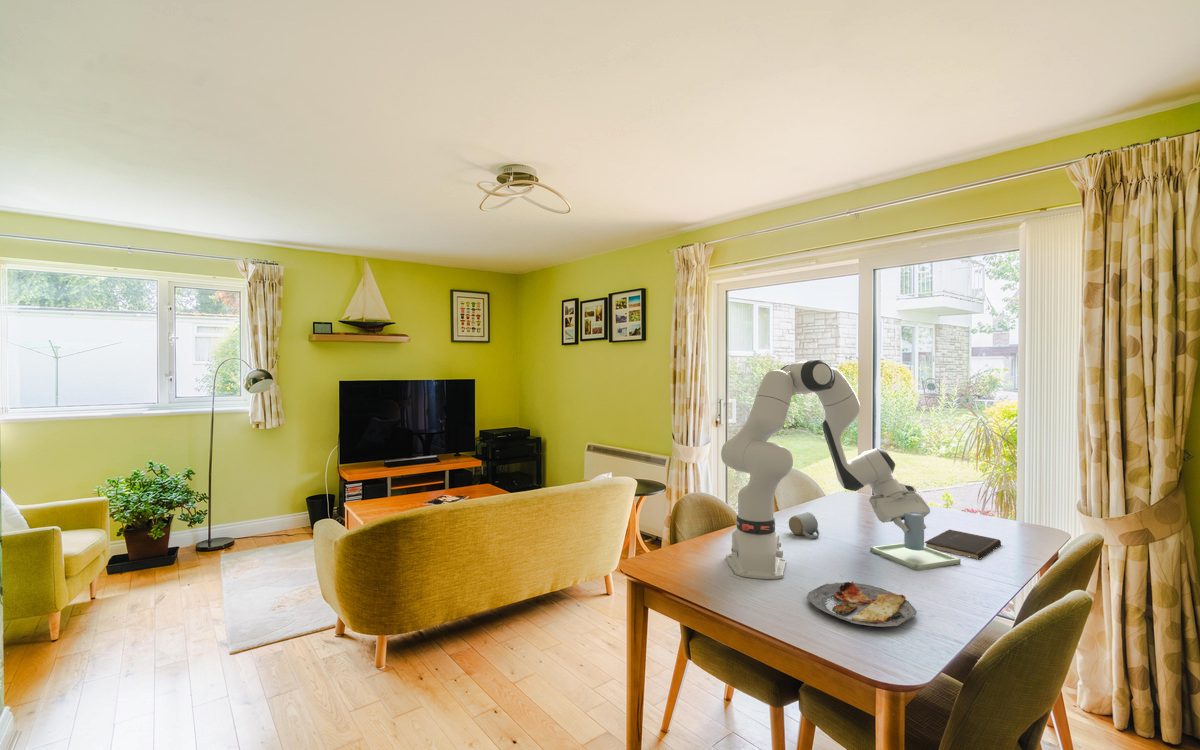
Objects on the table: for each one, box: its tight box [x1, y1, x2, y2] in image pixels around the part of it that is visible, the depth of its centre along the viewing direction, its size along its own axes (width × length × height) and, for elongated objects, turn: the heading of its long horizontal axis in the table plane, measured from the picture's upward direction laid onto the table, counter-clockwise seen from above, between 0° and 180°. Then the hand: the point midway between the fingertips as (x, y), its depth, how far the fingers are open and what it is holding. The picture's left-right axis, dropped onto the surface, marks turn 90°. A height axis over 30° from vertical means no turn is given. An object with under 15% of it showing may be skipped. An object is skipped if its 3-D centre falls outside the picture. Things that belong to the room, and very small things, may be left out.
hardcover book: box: [924, 529, 1002, 560], centre depth 184 cm, size 16×23×2 cm
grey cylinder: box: [903, 512, 925, 551], centre depth 173 cm, size 6×6×11 cm
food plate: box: [806, 581, 917, 627], centre depth 136 cm, size 25×23×4 cm
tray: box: [869, 542, 962, 571], centre depth 173 cm, size 18×18×2 cm
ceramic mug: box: [788, 512, 820, 539], centre depth 197 cm, size 11×8×8 cm
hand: (915, 530), depth 173 cm, fingers closed on grey cylinder, 6 cm apart
